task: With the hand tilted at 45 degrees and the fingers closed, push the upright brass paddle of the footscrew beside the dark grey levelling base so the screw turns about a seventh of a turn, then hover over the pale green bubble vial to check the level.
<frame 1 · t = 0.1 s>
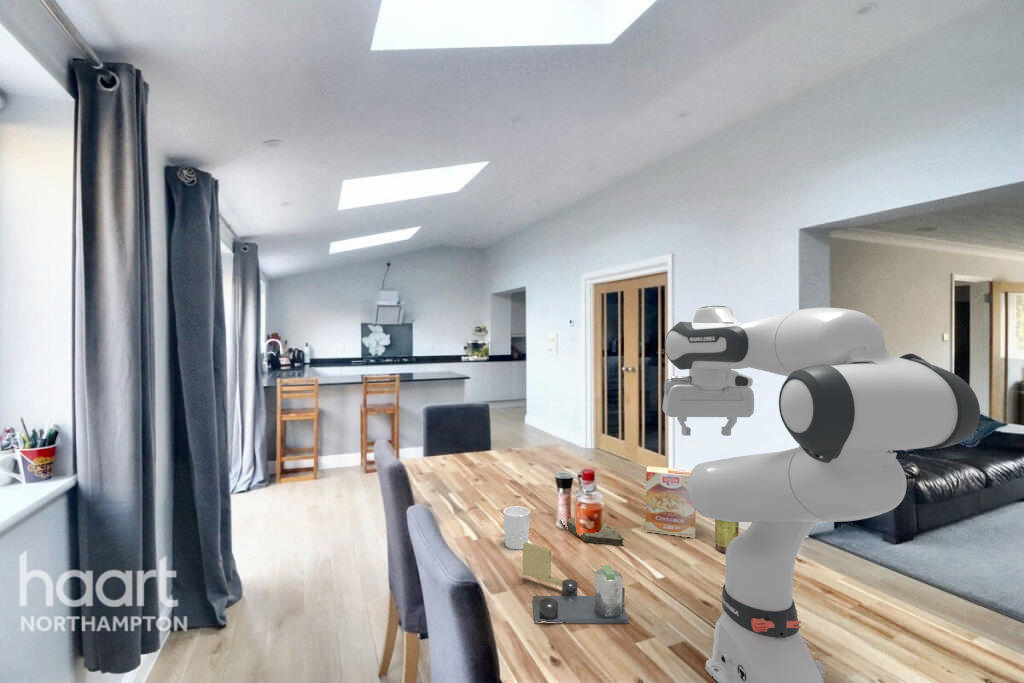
hand: (705, 435, 111), 39 cm above the table, tool pointing down, fingers open, 8 cm apart
coffeecake box: (669, 532, 151), on the table
levelling base: (578, 611, 106), on the table
stone slab: (588, 534, 150), on the table
sauce bottle: (726, 550, 138), on the table
footscrew crank: (549, 568, 116), point 5 cm above the table, hinge at 0.0°
white cup: (516, 545, 140), on the table
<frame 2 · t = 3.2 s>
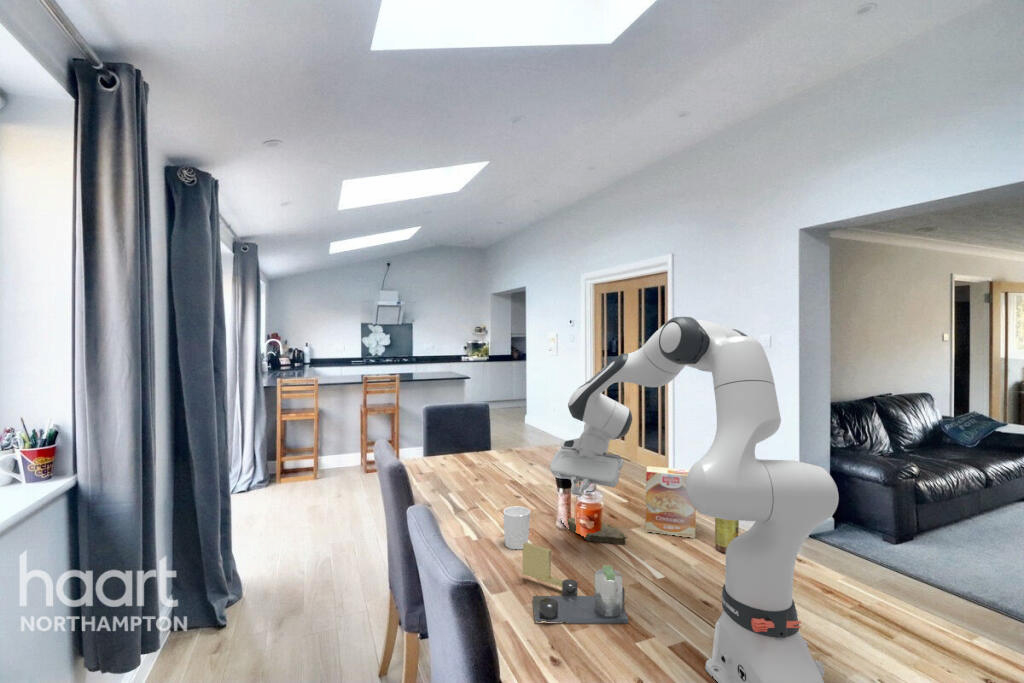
hand: (576, 493, 132), 18 cm above the table, tool tilted 45°, fingers closed
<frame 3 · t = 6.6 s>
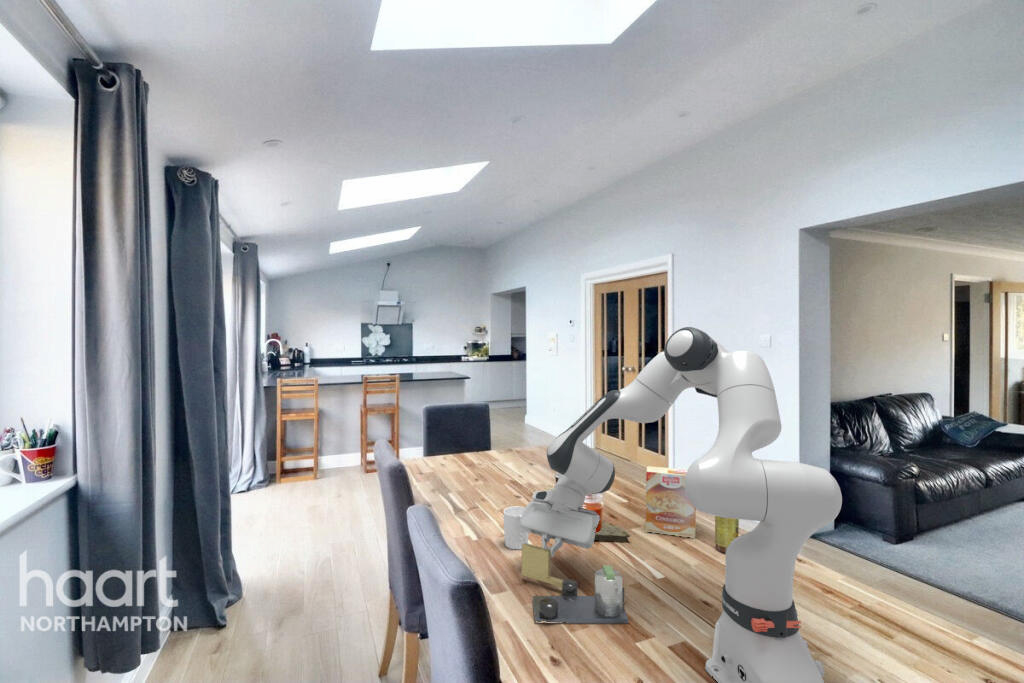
hand: (546, 555, 118), 7 cm above the table, tool tilted 45°, fingers closed, pressing on footscrew crank
footscrew crank: (549, 568, 116), point 5 cm above the table, hinge at 2.4°, touching gripper
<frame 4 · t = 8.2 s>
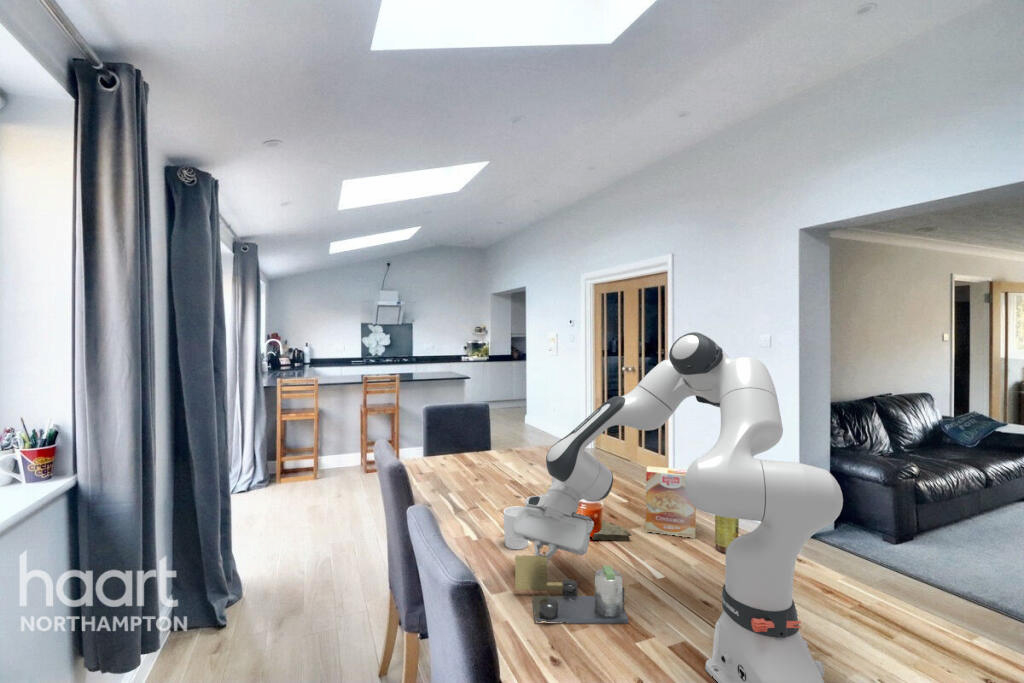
hand: (539, 562, 115), 7 cm above the table, tool tilted 45°, fingers closed
footscrew crank: (546, 574, 113), point 5 cm above the table, hinge at 35.2°, touching gripper
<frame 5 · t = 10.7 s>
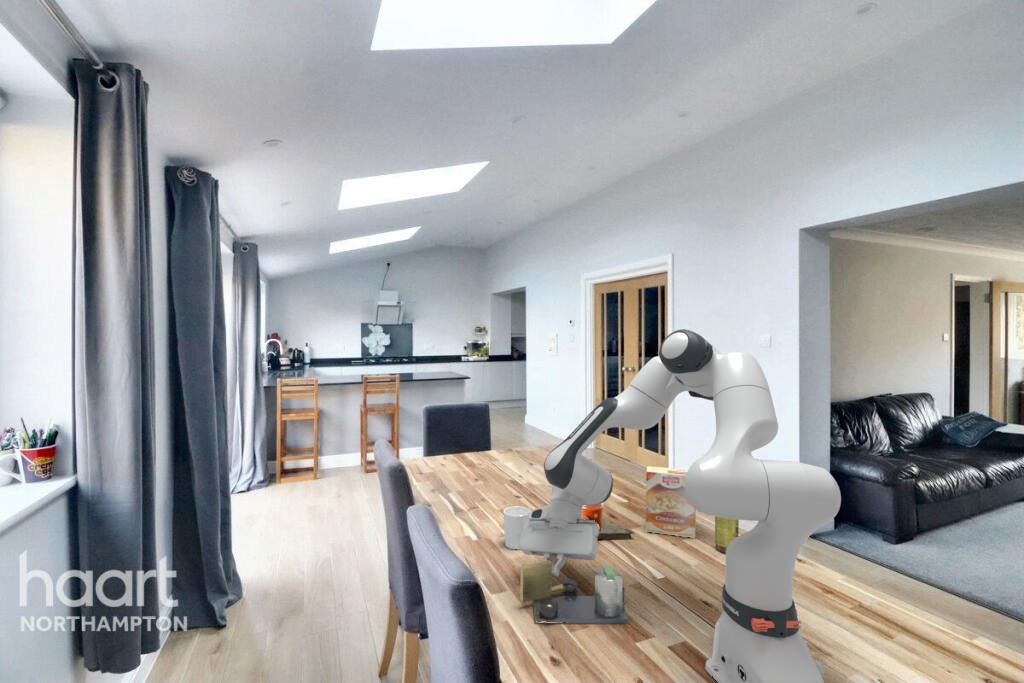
hand: (551, 575, 113), 5 cm above the table, tool tilted 45°, fingers closed
footscrew crank: (549, 580, 111), point 5 cm above the table, hinge at 60.4°
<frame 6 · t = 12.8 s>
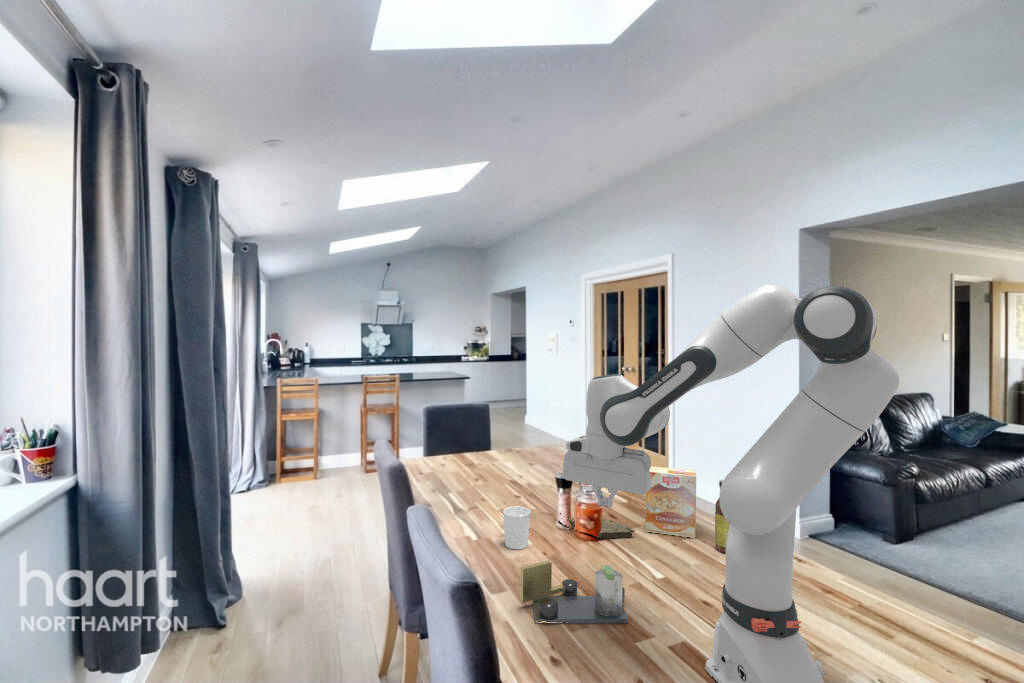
hand: (605, 505, 108), 23 cm above the table, tool pointing down, fingers closed
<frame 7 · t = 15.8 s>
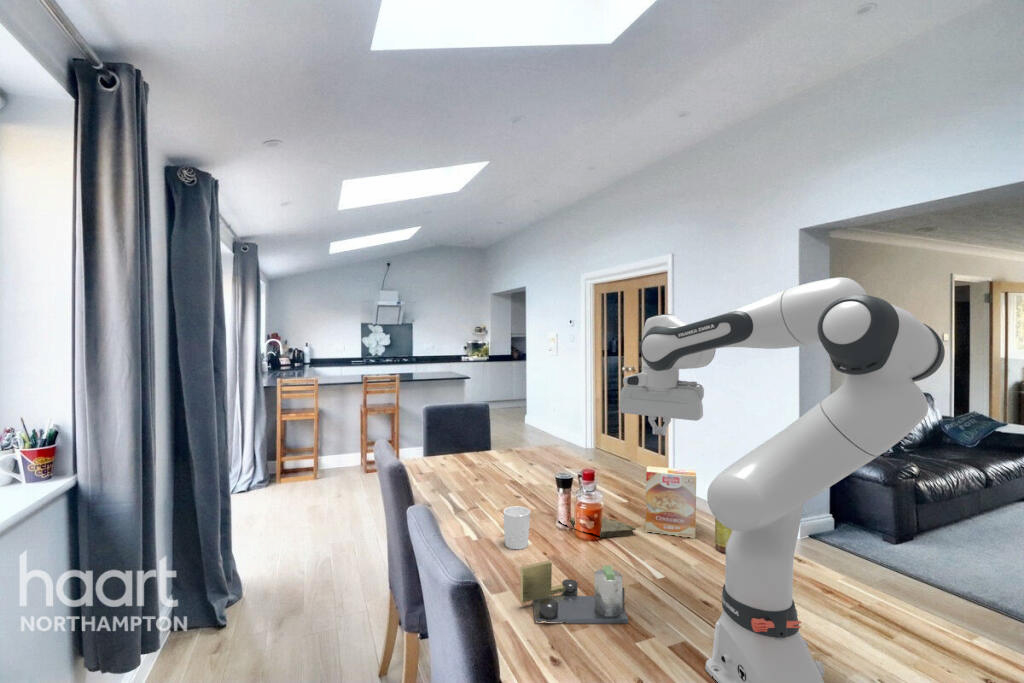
hand: (659, 434, 119), 37 cm above the table, tool pointing down, fingers closed
at the end: footscrew crank at +60° (first picture: +0°); the gripper is holding nothing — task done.
